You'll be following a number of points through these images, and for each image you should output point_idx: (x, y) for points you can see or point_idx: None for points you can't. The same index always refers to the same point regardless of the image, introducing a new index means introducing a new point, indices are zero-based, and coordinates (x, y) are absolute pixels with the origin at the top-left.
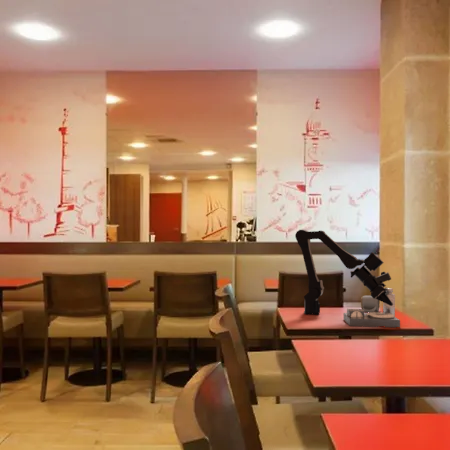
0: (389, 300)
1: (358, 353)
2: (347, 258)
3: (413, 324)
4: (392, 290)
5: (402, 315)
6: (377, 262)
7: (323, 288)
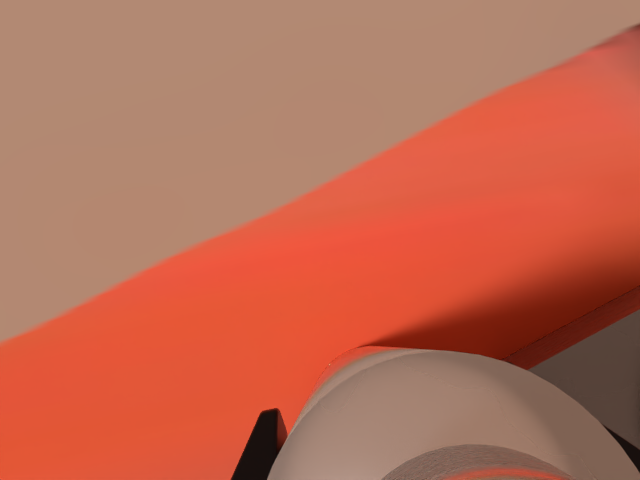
0: None
1: None
2: None
3: (520, 142)
4: (565, 478)
5: (38, 333)
6: None
7: None
